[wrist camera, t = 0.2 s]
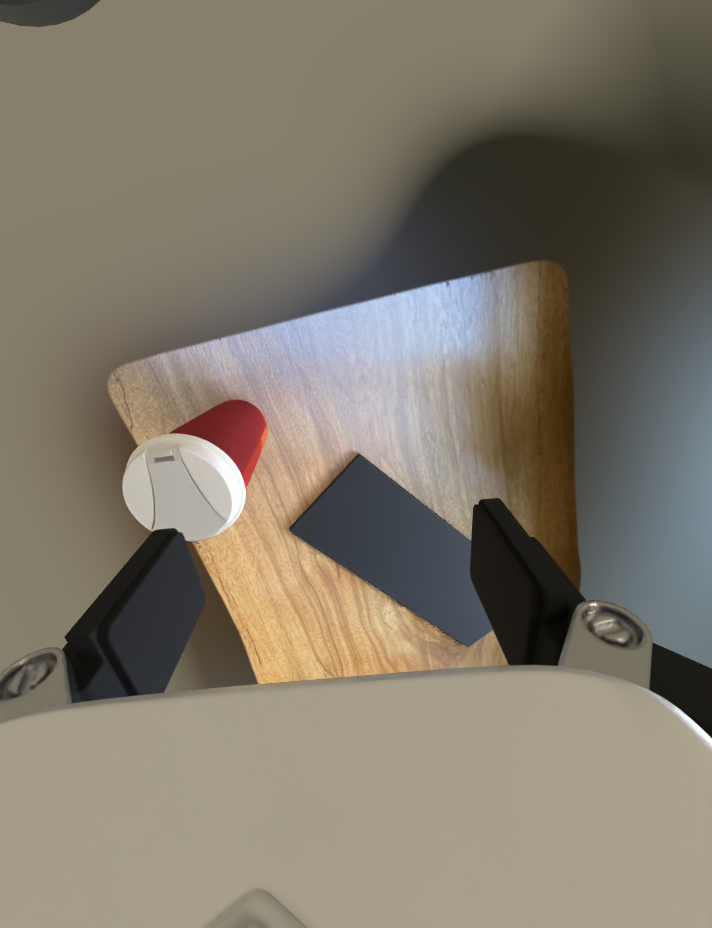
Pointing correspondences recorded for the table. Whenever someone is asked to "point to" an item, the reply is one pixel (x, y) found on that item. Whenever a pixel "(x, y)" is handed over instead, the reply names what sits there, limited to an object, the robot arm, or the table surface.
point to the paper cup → (196, 471)
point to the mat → (397, 548)
